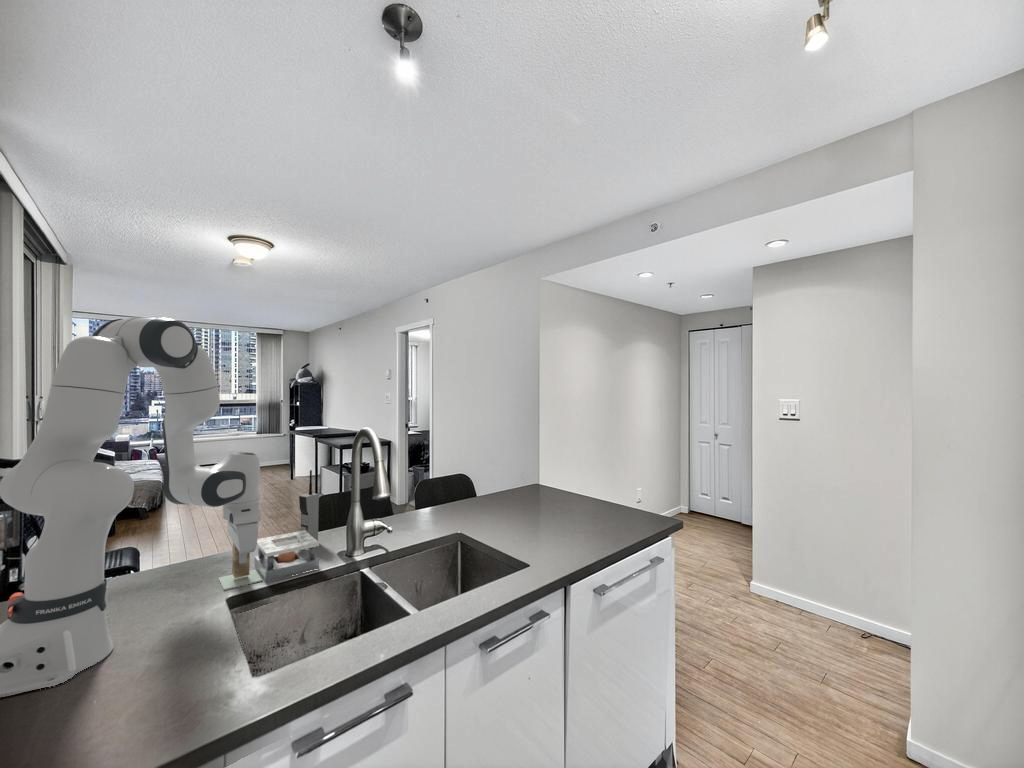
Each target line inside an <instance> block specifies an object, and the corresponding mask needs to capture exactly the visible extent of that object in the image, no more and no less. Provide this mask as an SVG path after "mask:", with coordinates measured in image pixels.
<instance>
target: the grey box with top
mask: <svg viewBox="0 0 1024 768" xmlns="http://www.w3.org/2000/svg"><path fill="white" fill-rule="evenodd" d="M291 540H297V542H294V543H290V544H285V545H280V546H276V544H277V543H282V542H285V541H291ZM275 543H276V544H275ZM256 547H258V555H255V556H254V568H255V570H256V571H257V573H258V574H259V576H260V577H261V579H262V581H263V582H264V583H265V584H267V583H269V582H270V581H271V582H274V580H275V581H279V580H283V579H286V578H285V577H287V578H290V577H289V576H291V577H293V576H292V575H295V576H297V575H296V574H299V573H303V572H306V571H310V570H314V569H318V568H319V567H320V559H319V558H318V557H317V556H316V547H320V542H319V540H318V541H317V540H316V539H315V538H313V537H312V536H311V535H310V534H309V533H308V532H306V531H305V530H303V531H301V530H298V531H293V532H288V533H282V534H277V535H273V536H267V537H260V538H257V546H256ZM293 551H295V560H292V561H288V562H283V563H279V564H278V555H279V554H283V553H288V552H293ZM299 575H300V574H299ZM282 578H283V579H282ZM278 579H279V580H278ZM266 582H267V583H266Z"/></svg>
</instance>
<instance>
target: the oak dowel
mask: <svg viewBox="0 0 1024 768" xmlns="http://www.w3.org/2000/svg"><path fill="white" fill-rule="evenodd" d="M250 553H251V552H250ZM250 553H248V554H247V562H246V563H242V564H240V563H239V561H238V556H239V551H238V549H237V548H236V546H235V545H234V543H233V542H232V574H233V576H234V578H239V577H243V576H247V575H249V571H250V567H251V566H250V560H251V559H250V556H251V554H250ZM232 574H231V575H232Z"/></svg>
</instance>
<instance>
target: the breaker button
mask: <svg viewBox="0 0 1024 768" xmlns="http://www.w3.org/2000/svg"><path fill="white" fill-rule="evenodd" d="M292 560H295V551H293V552H288V553H283V554H279V555H278V564H279V563H283V562H288V561H292Z"/></svg>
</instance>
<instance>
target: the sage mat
mask: <svg viewBox="0 0 1024 768" xmlns="http://www.w3.org/2000/svg"><path fill="white" fill-rule="evenodd" d="M217 579H218V582H219V584H220V587H221V588H222V590H223V591H224V590H225V591H228V589H229V590H232V588H233V589H237V588H240V586H241V587H245V586H249V585H253V583H254V584H257V582H258V583H261V581H262V582H263V578H262V577H261V575H260V574H259V572H258V571H257V570H256V569H249V575H247V576H243V577H239V578H234V576H233V574H228V575H223V576H220V577H217ZM248 584H249V585H248ZM236 587H237V588H236Z"/></svg>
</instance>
